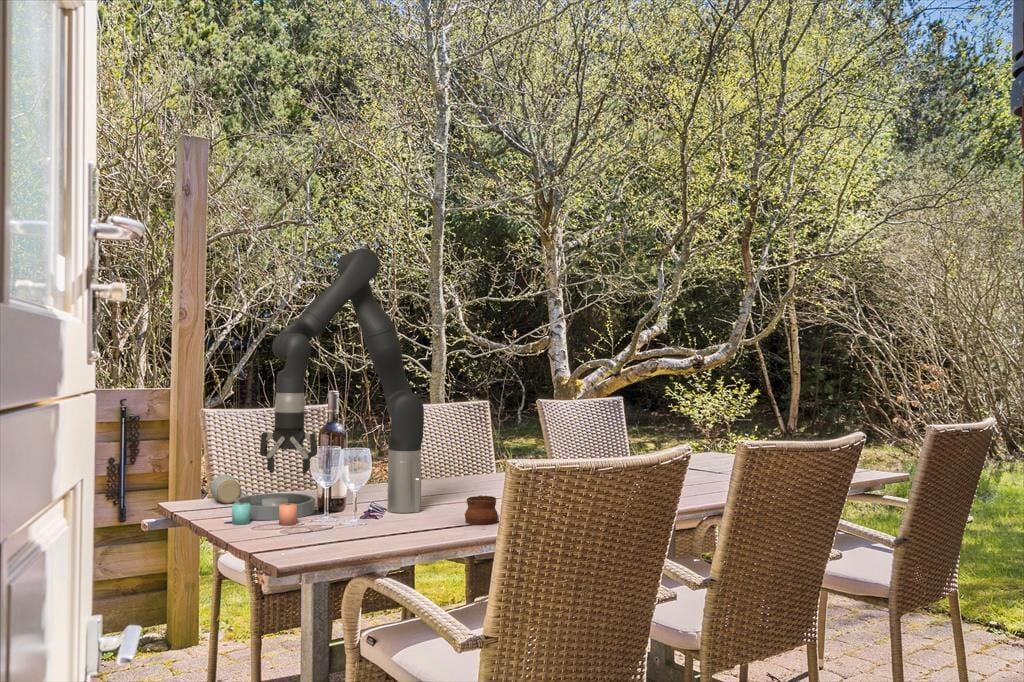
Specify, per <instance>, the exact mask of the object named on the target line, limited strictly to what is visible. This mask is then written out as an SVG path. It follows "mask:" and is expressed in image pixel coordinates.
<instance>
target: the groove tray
mask: <svg viewBox="0 0 1024 682" xmlns="http://www.w3.org/2000/svg"><path fill="white" fill-rule="evenodd" d="M248 495H249V496H245V497H240V498H238V499H236V500H235V501H234V503H250V520H254V521H279V505H280V504H284V503H294V504H297V519H298V518H303V517H304V518H305V517H307V516H308V517H309V516H311V515H313V513H314V512H315V510H316V509H315V508H316V506H315V505H316V499H315V498H314V497H313V496H312V495H309V494H304V493H303V494H302V493H293V492H292V493H291V492H289V493H288V492H271V493H258V494H248ZM234 503H233V504H234Z"/></svg>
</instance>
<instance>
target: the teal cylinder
mask: <svg viewBox="0 0 1024 682" xmlns="http://www.w3.org/2000/svg"><path fill="white" fill-rule="evenodd" d="M231 504H232V505H231V506H232V507H231V508H232V513H231V516H232V517H231V524H232V525H234V526H246V525H247V526H248V525H250V523H251V519H250V503H231Z"/></svg>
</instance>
